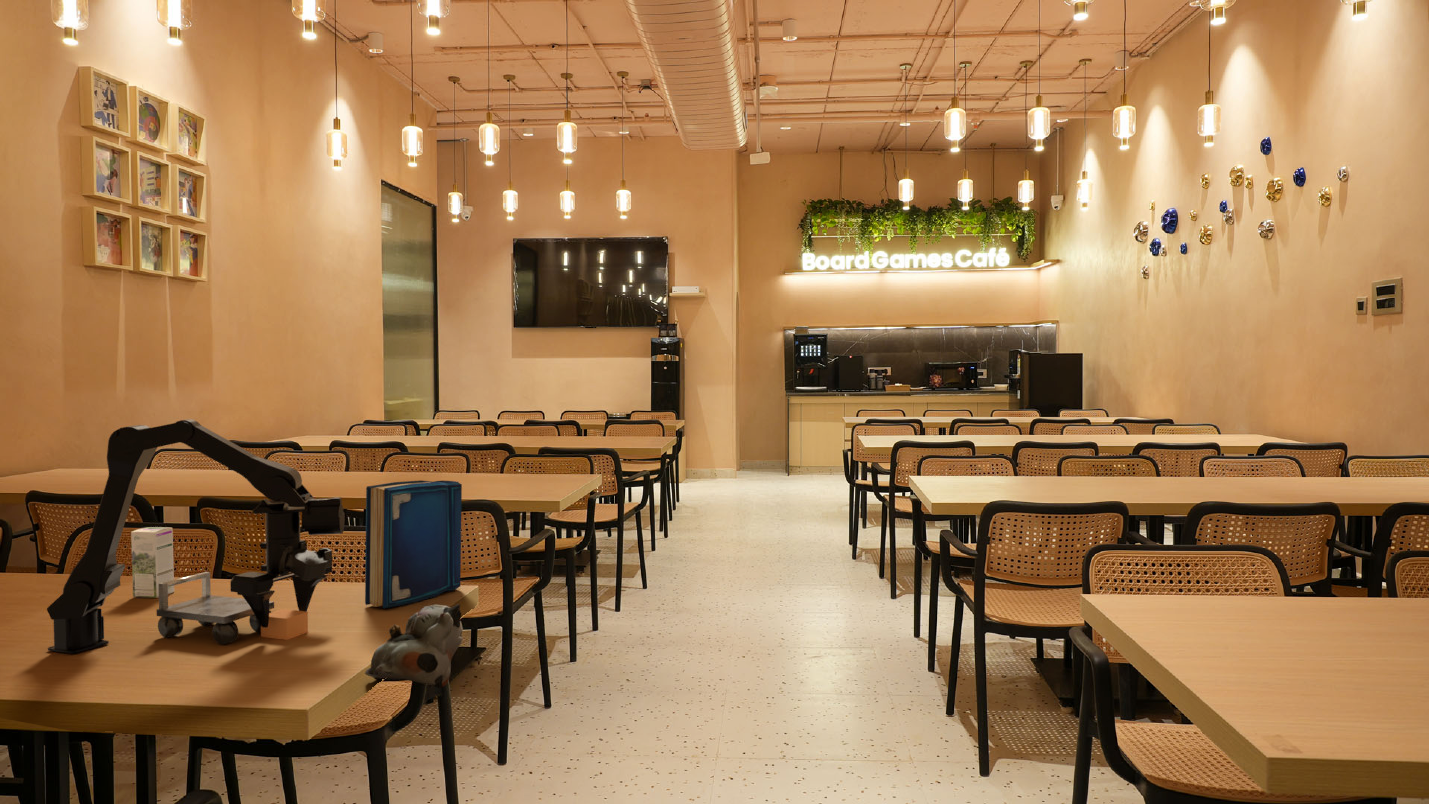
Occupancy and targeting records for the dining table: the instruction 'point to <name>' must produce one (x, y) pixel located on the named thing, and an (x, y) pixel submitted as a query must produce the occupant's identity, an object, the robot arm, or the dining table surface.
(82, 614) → the robot arm
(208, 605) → the platform trolley
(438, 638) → the cat figurine
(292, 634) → the orange rectangular carton
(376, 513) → the book
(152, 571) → the syrup box
